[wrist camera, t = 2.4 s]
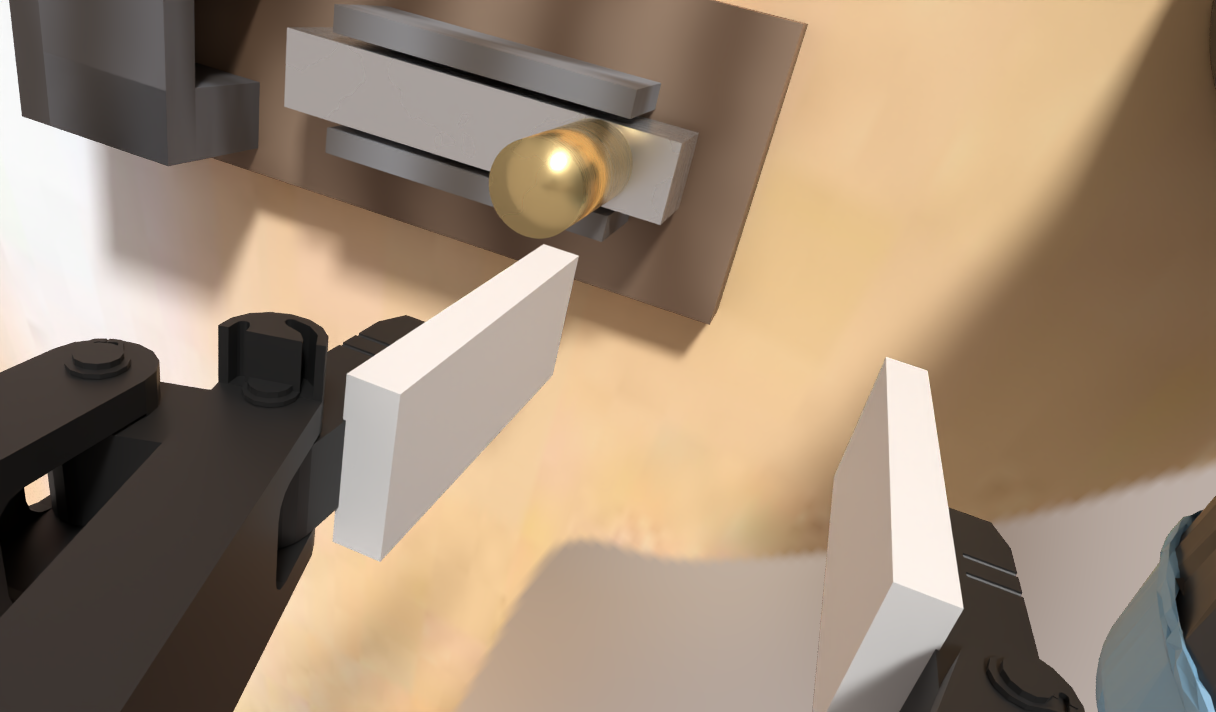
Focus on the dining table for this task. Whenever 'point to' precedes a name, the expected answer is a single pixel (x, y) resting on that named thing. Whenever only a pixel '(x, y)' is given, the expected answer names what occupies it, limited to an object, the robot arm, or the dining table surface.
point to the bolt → (494, 132)
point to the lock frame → (416, 179)
